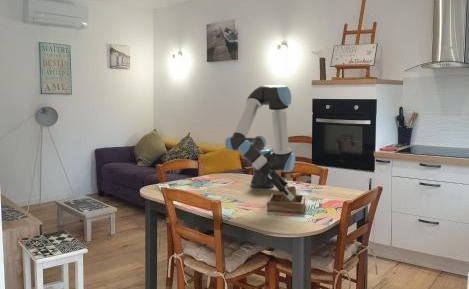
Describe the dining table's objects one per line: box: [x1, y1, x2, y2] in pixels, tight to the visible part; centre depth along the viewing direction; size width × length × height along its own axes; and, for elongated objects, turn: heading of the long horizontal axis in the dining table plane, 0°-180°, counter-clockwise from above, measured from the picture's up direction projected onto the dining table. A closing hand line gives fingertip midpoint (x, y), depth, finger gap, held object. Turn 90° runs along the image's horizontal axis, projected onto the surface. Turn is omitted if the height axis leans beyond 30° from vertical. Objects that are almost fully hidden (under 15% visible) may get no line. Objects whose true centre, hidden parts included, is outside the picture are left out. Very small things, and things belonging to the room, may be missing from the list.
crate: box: [266, 193, 306, 214], centre depth 221 cm, size 18×18×5 cm
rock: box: [279, 186, 297, 203], centre depth 221 cm, size 11×9×10 cm
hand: (293, 197), depth 220 cm, fingers closed on rock, 8 cm apart
